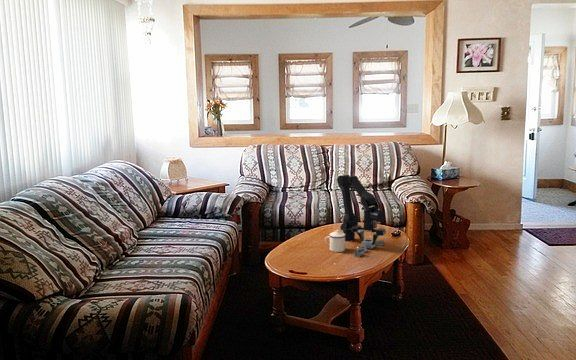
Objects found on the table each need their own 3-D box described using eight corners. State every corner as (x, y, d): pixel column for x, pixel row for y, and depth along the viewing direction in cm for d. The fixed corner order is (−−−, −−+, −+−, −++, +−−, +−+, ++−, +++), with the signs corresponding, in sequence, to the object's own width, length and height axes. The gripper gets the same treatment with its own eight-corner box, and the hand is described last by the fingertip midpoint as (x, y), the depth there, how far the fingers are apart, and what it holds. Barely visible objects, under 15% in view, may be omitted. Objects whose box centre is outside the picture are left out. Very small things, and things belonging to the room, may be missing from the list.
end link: (371, 248, 275) (371, 242, 274) (361, 247, 278) (361, 241, 277) (375, 245, 280) (375, 239, 279) (365, 244, 283) (365, 238, 282)
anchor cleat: (359, 257, 264) (359, 248, 263) (354, 256, 265) (354, 247, 264) (363, 254, 268) (363, 246, 267) (358, 253, 269) (358, 245, 269)
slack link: (364, 252, 271) (364, 248, 270) (359, 252, 272) (359, 248, 271) (366, 250, 274) (366, 246, 274) (362, 250, 275) (362, 246, 275)
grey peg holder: (369, 245, 284) (369, 236, 283) (370, 241, 292) (370, 232, 291) (383, 245, 282) (383, 237, 281) (383, 241, 290) (383, 233, 289)
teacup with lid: (347, 248, 278) (347, 228, 276) (342, 253, 270) (342, 233, 268) (328, 245, 284) (328, 226, 282) (322, 250, 276) (322, 230, 274)
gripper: (389, 216, 278) (388, 243, 281) (358, 213, 287) (358, 238, 290) (382, 221, 269) (382, 248, 272) (351, 217, 278) (351, 243, 281)
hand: (368, 244), depth 279 cm, fingers closed on end link, 6 cm apart
